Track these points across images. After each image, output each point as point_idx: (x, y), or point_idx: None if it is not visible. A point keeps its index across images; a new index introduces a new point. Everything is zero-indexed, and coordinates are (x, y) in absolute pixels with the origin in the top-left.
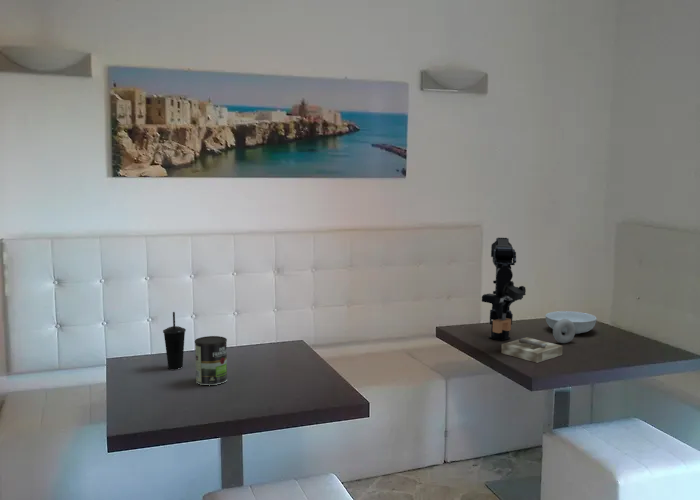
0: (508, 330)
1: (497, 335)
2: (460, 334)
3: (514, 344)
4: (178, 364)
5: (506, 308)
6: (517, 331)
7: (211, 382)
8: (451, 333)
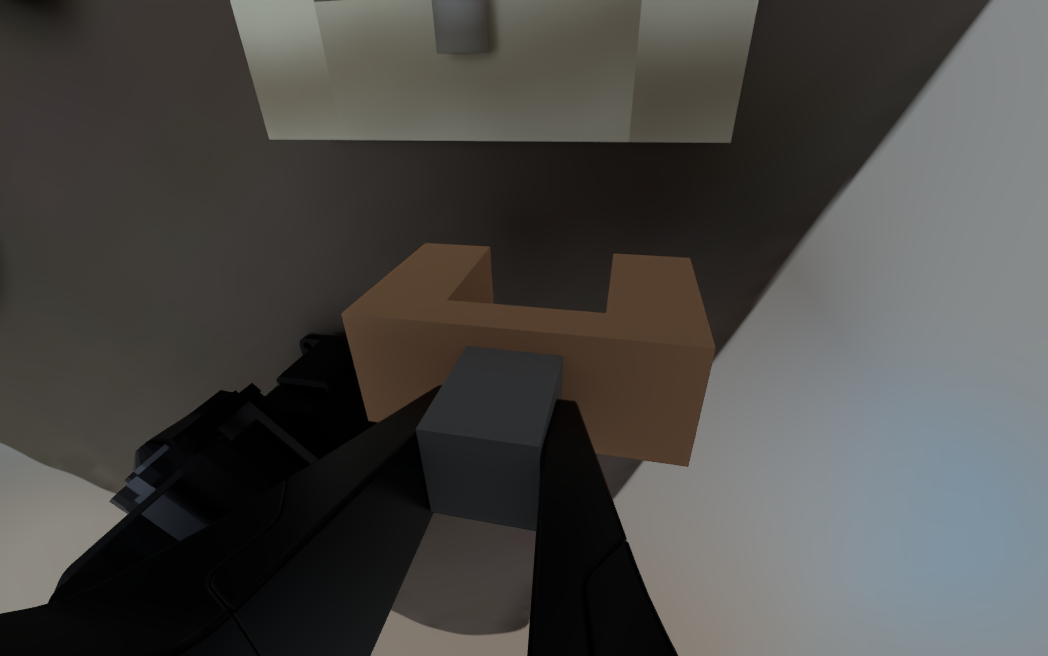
0: (470, 247)
1: None
2: (500, 555)
3: (624, 12)
4: None
5: (330, 534)
6: (169, 386)
7: None
8: (523, 588)
